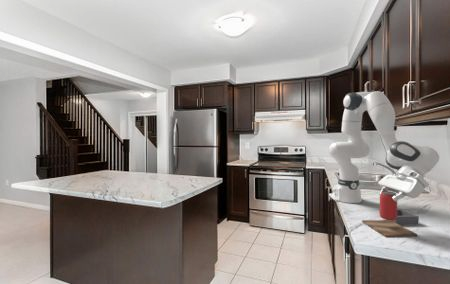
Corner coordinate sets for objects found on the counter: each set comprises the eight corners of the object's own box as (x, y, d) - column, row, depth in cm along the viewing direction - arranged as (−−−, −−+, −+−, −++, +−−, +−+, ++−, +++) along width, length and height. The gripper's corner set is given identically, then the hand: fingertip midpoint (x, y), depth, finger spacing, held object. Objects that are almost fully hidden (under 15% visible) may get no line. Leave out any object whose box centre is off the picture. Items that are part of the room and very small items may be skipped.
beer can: (389, 221, 101) (389, 194, 101) (376, 216, 107) (376, 191, 107) (400, 220, 103) (401, 193, 102) (387, 215, 109) (387, 190, 109)
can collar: (380, 216, 121) (380, 209, 121) (400, 216, 121) (400, 208, 121) (396, 224, 110) (396, 216, 110) (418, 224, 110) (418, 216, 110)
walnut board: (362, 222, 113) (362, 220, 113) (389, 221, 113) (389, 220, 113) (385, 236, 97) (385, 234, 97) (417, 236, 97) (417, 234, 97)
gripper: (387, 168, 115) (367, 187, 115) (422, 175, 94) (399, 199, 95) (395, 177, 115) (376, 196, 115) (433, 186, 95) (409, 209, 95)
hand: (386, 197), depth 105 cm, fingers closed on beer can, 7 cm apart
